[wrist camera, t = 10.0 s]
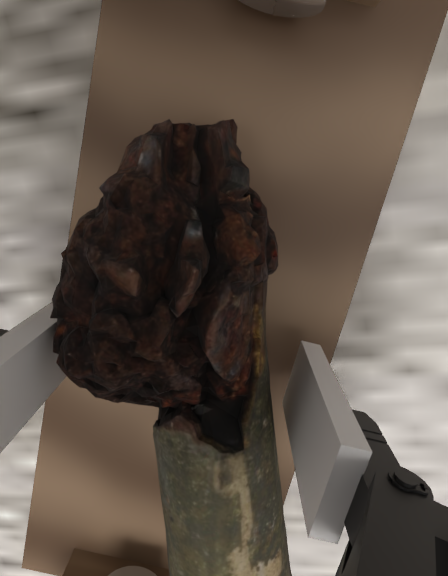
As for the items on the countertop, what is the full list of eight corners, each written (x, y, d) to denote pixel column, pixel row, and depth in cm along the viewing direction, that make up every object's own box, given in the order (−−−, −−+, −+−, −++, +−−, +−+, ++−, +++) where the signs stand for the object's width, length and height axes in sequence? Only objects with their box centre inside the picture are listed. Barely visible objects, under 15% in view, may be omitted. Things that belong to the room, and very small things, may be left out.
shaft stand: (131, -102, 16) (38, -339, 8) (443, -20, 16) (613, -181, 9) (35, 543, 24) (-56, 707, 16) (245, 590, 24) (248, 771, 17)
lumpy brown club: (287, 543, 19) (307, 692, 14) (139, 549, 19) (100, 696, 14) (264, 123, 14) (278, 93, 9) (71, 141, 15) (-27, 122, 9)
